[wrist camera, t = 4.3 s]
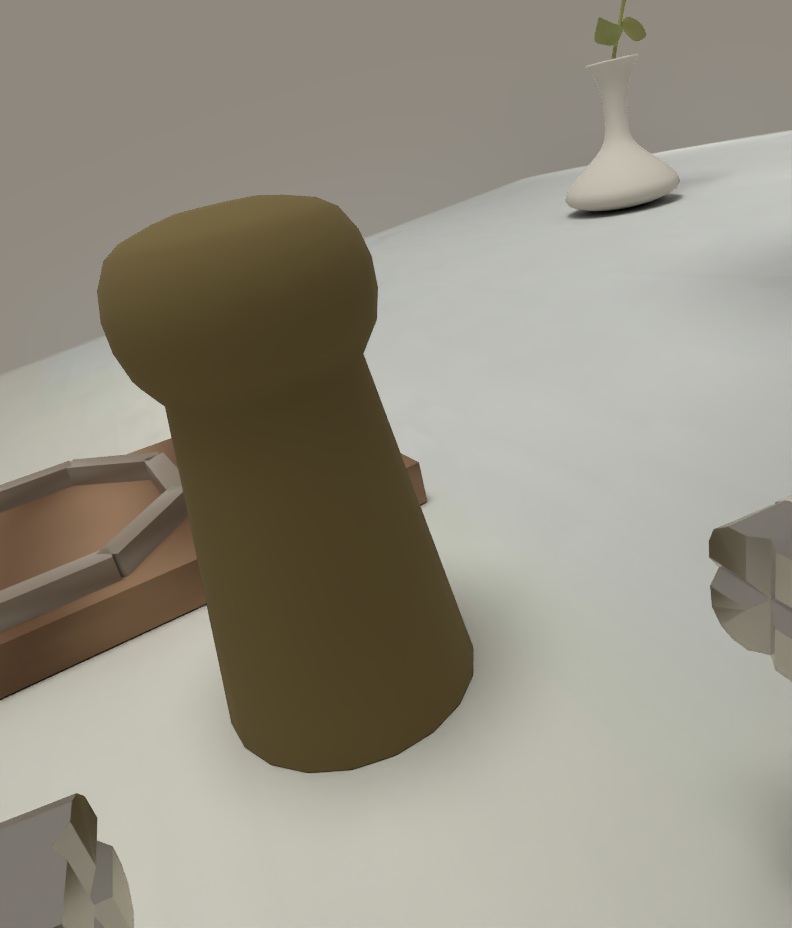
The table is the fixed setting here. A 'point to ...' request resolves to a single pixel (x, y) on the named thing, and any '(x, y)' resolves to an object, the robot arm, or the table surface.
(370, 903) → the table surface
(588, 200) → the flower in vase
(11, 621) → the gear board
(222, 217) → the cork
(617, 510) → the table surface
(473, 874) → the table surface
